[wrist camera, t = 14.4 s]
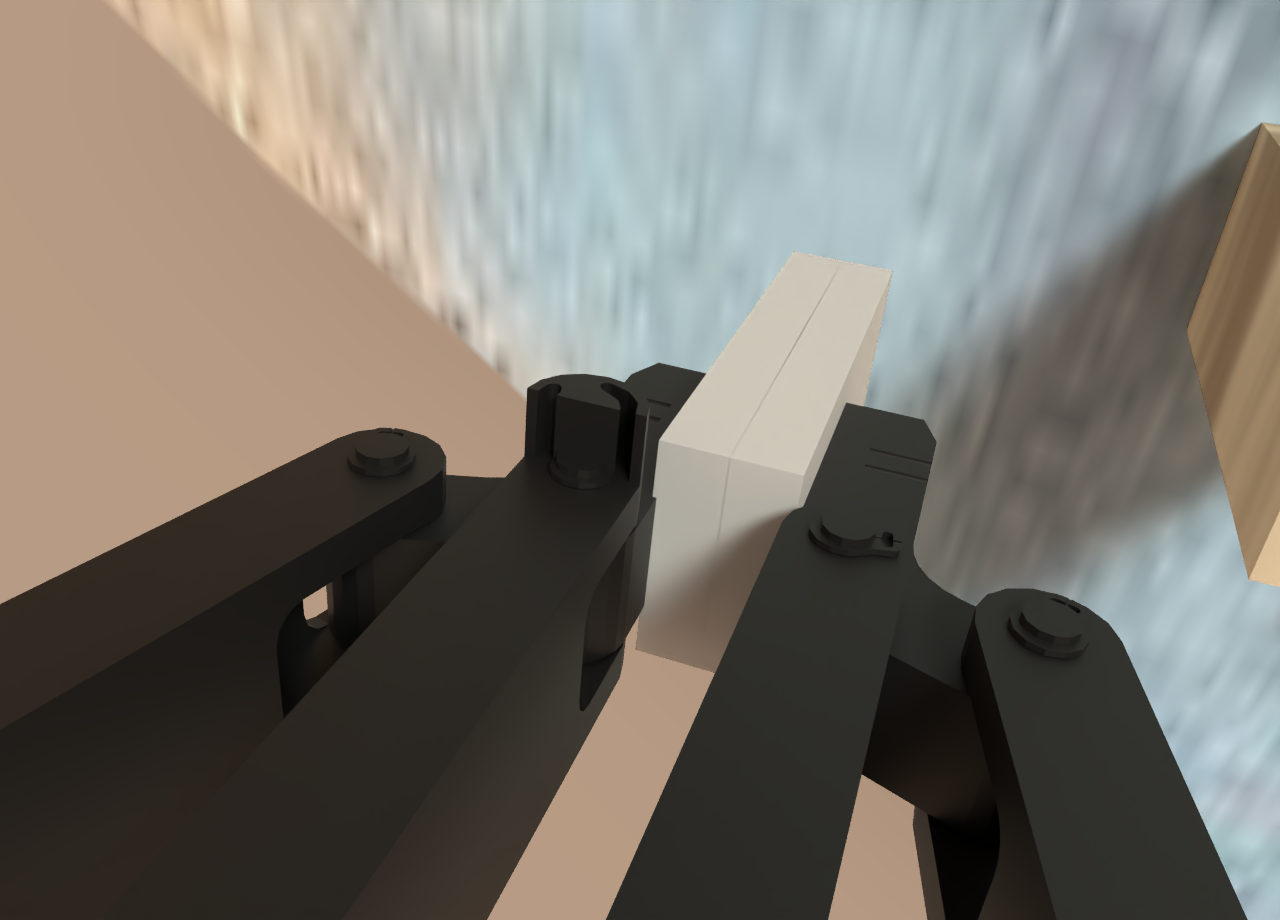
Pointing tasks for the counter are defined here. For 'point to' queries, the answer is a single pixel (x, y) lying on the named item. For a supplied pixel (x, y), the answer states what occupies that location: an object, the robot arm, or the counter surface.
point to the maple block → (1247, 356)
